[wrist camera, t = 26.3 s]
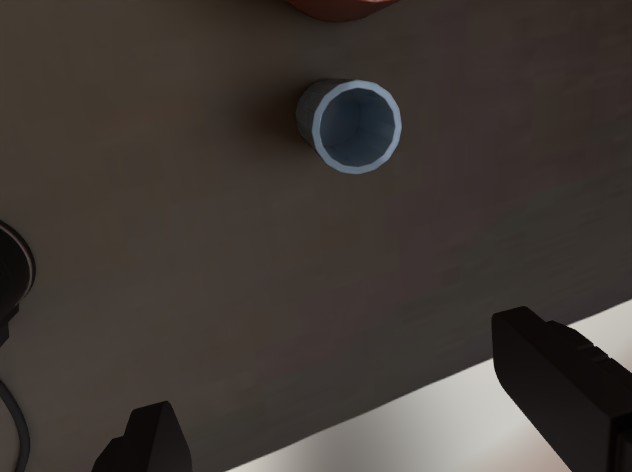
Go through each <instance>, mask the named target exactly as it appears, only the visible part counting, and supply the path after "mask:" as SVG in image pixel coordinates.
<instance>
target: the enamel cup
mask: <svg viewBox="0 0 632 472" xmlns="http://www.w3.org/2000/svg"><path fill="white" fill-rule="evenodd" d="M296 124H297V127H298V130H299V132H300V134H301V135H302V137H303V138H304V140H305V141H306V142H307V143H308V145H309V146H310V147H311V148H312V149H313V150H314V151H315V152H316V153H317V154H318V155H319V156H320V157H321V159H322V160H323V161H324V162H325V163H326V164H327V165H329V166H331V167H333V168H334V169H336V170H338V171H339V172H342V173H350V174H361V173H365V172H369V171H372V170H375V169H376V168H378V167H379V166H380V165H382V164H383V163H384V162H386V161H387V160H388V159H389V158H390V156H391V155H392V153H393V151H394V150H395V148H396V147H397V145H398V143H399V138H400V133H401V129H402V123H401V117H400V110H399V107H398V105H397V104H396V102H395V100H394V99H393V97H392V96H391V94H390V93H389V92H388V91H386V90H385V89H384V88H382V87H381V86H379V85H378V84H376V83H374V82H369V81H363V80H354V79H325V80H321V81H318V82H316V83H314V84H312V85H311V86H309V87H308V88H307V89H306V90H305V91H304V93H303V94H302V95H301V97H300V99H299V101H298V104H297V108H296Z"/></svg>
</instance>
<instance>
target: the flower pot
mask: <svg viewBox="0 0 632 472" xmlns="http://www.w3.org/2000/svg"><path fill="white" fill-rule="evenodd" d="M287 1H288V2H289V3H290V4H291V5H292V6H294V7H295V8H296V9H298V10H299V11H301V12H303V13H304V14H306V15H309V16H311V17H313V18H316V19H319V20H323V21H329V22H347V21H353V20H357V19H362V18H365V17H367V16H369V15H371V14H373V13H375V12H378V11H380V10H382V9H384V8H386V7H388V6H390V5H392V4H394V3H397V2H399V1H401V0H287Z"/></svg>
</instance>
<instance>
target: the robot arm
mask: <svg viewBox="0 0 632 472" xmlns="http://www.w3.org/2000/svg"><path fill="white" fill-rule="evenodd" d="M35 274H36V267H35V261H34V257H33V254H32V252H31V250H30V248H29V246H28V245H27V243H26V242H25V240H24V239H23V238H22V237H21V236H20V235H19V234H18V233H17V232H16V231H15V230H14V229H12V228H11V227H10V226H8V225H7V224H5V223H4V222H2V221H0V347H1V346H2V345H3V343H4V342H5V341H6V340H7V339H8V338H9V329H8V322H9V321H10V320H11V319H12V318H13V317H14V316H15V314H16V313H17V312H18V311H19V302H20V301H21V300H22V299H23V298H24V297H25V296H26V295H27V294H28V293H29V291H30V290H31V288H32V286H33V283H34V280H35ZM492 342H493V362H494V368H495V372H496V375H497V378H498V380H499V382H500V384H501V386H502V387H503V389H504V390H505V391H506V393H507V394H508V395H509V396H510V397H511V399H512V400H513V401H514V402H515V403H516V405H517V406H518V407H519V408H520V409H521V410H522V412H523V413H524V414H525V416H526V417H527V418H528V419H529V420H530V421H531V423H532V424H533V425H534V426H535V428H536V429H537V430H538V431H539V432H540V434H541V435H542V436H543V437H544V439H545V440H546V441H547V442H548V443H549V445H550V446H551V447H552V448H553V449H554V451H555V452H556V453H557V454H558V455H559V456H560V458H561V459H562V460H563V462H564V463H565V464H566V465H567V466H568V468H569V469H570V470H571V471H572V472H632V373H631V372H630V371H628V370H627V369H626V368H624V367H623V366H622V365H620V364H619V363H618V362H617V361H615V360H614V359H612V358H609V357H608V354H606V353H605V352H603V351H602V350H601V349H600V348H598V347H597V346H596V347H595V346H594V345H593V343H592V342H591V341H589V340H588V339H587V338H585V337H584V336H583V335H582V334H580V333H579V332H578V331H576V330H575V329H572V328H569V327H567V326H565V325H563V324H560V323H558V322H555V321H553V320H552V321H548V322H545V321H544V320H542V319H541V318H540V317H539V316H538V315H536V314H535V313H534V312H533V311H532V310H530V309H529V308H528V307H525V306H521V307H517V308H513V309H510V310H506V311H502V312H498V313H495V314H493V316H492ZM0 397H1V398H2V400H3V401H4V403H5V404H6V406H7V407H8V409H9V411H10V413H11V415H12V417H13V419H14V421H15V424H16V427H17V430H18V433H19V438H20V445H21V449H20V457H19V461H18V464H17V467H16V470H15V472H24V470H25V467H26V464H27V461H28V457H29V453H30V438H29V432H28V428H27V425H26V422H25V419H24V417H23V414H22V412H21V410H20V408H19V406H18V405H17V403H16V401H15V400H14V398H13V396H12V395H11V393H10V392H9V391H8V389H7V388H6V386H5V385H4V384H3V383H2V382H1V381H0ZM91 472H192V460H191V454H190V451H189V447H188V445H187V442H186V440H185V438H184V435H183V433H182V430H181V428H180V425H179V423H178V420H177V418H176V415H175V413H174V411H173V408H172V406H171V404H170V403H169V402H168V401H164V402H160V403H156V404H152V405H148V406H145V407H141V408H137V409H134V410H133V411H132V412H131V415H130V418H129V421H128V424H127V427H126V430H125V433H124V436H121V437H118V438H114V439H112V440H111V441H110V443H109V444H108V445H107V447H106V448H105V449H104V450H103V452H102V453H101V454H100V456H99V457H98V458H97V459H96V461H95V464H94V466H93V469H92V471H91Z"/></svg>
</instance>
